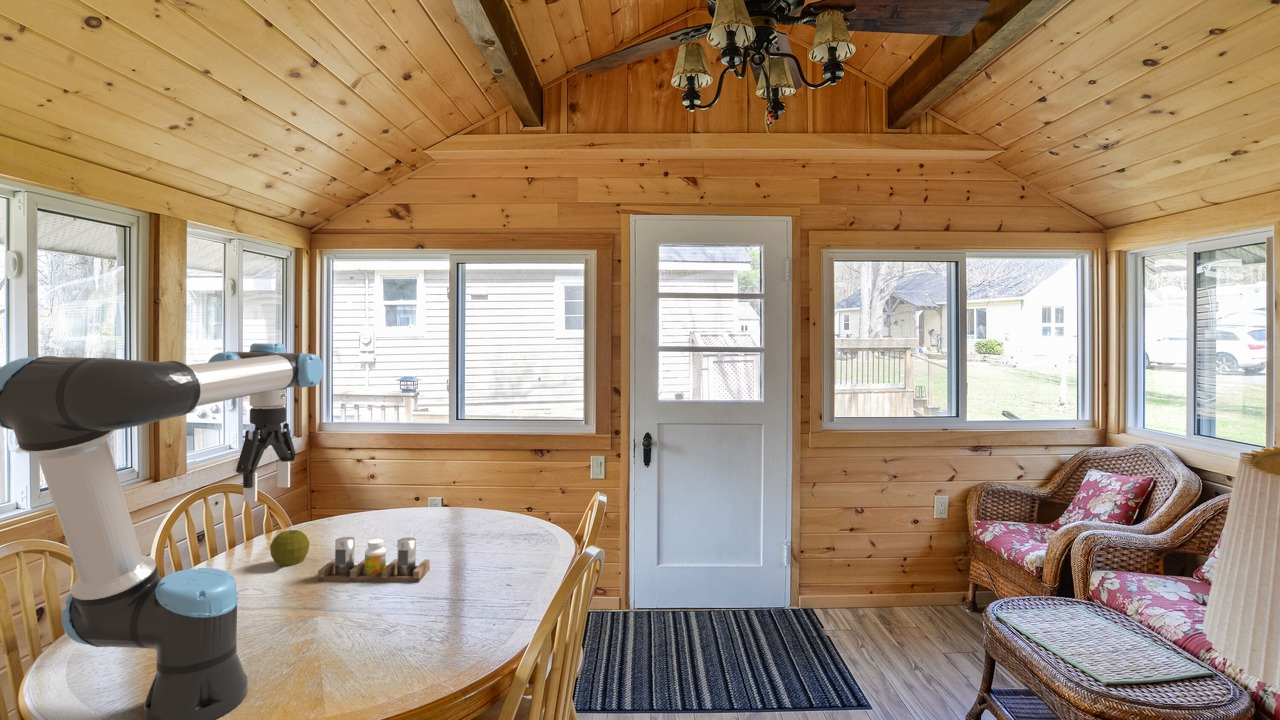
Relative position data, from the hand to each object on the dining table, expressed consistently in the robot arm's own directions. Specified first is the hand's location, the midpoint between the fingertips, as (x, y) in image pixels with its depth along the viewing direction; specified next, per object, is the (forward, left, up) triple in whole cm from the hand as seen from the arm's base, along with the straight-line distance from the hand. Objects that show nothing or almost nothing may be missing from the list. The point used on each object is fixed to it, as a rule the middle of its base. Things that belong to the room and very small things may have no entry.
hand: (267, 493), depth 145 cm
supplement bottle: (+20, -18, -28) cm, 39 cm away
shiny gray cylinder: (+20, -10, -28) cm, 35 cm away
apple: (+30, +11, -29) cm, 43 cm away
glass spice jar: (+20, -26, -28) cm, 43 cm away
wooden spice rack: (+20, -18, -29) cm, 39 cm away
